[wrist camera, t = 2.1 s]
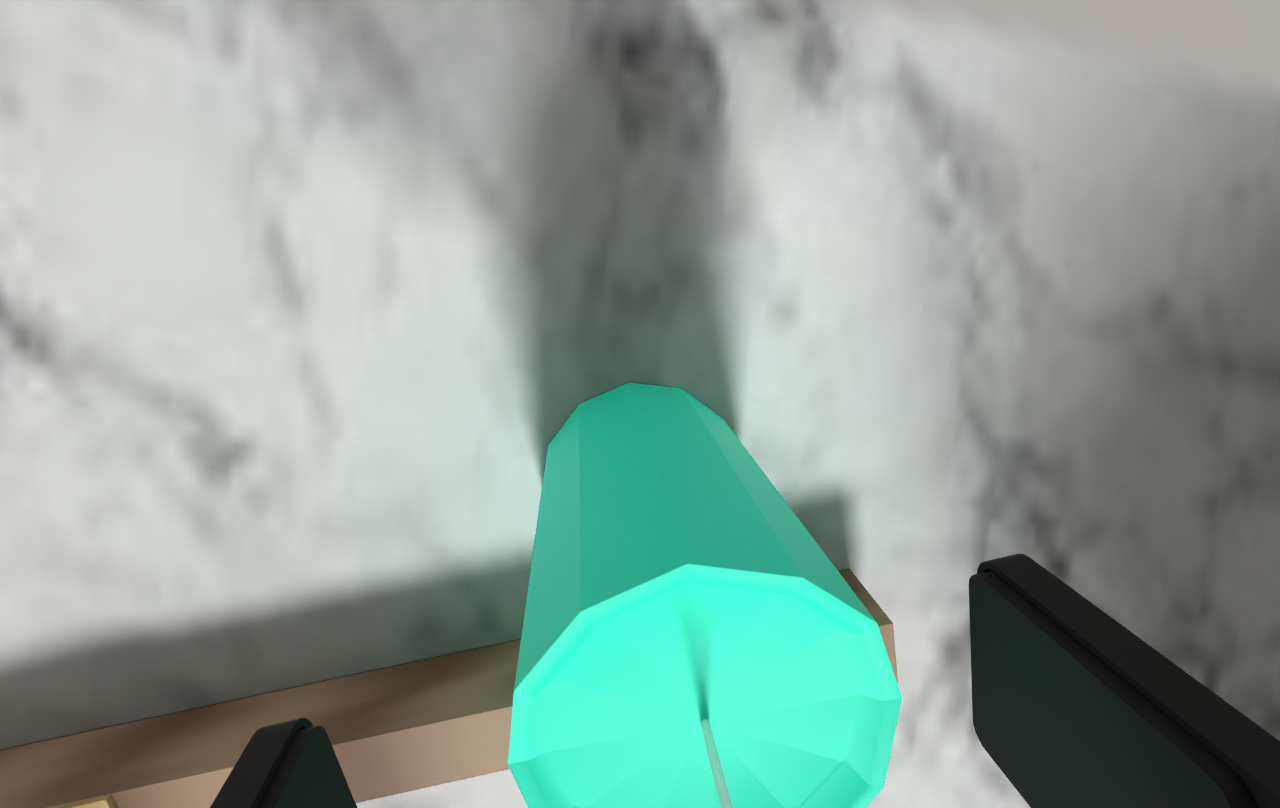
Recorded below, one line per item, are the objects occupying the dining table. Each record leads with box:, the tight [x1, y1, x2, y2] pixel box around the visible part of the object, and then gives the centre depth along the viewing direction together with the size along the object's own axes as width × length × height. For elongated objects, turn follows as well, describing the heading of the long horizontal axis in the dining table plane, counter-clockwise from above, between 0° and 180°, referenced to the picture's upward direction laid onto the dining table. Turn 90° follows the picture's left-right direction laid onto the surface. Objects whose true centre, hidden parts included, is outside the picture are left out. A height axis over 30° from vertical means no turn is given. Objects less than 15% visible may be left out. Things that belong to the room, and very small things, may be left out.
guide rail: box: [0, 569, 898, 808], centre depth 19 cm, size 30×2×3 cm, turn 100°
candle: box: [508, 383, 902, 808], centre depth 14 cm, size 6×6×12 cm
